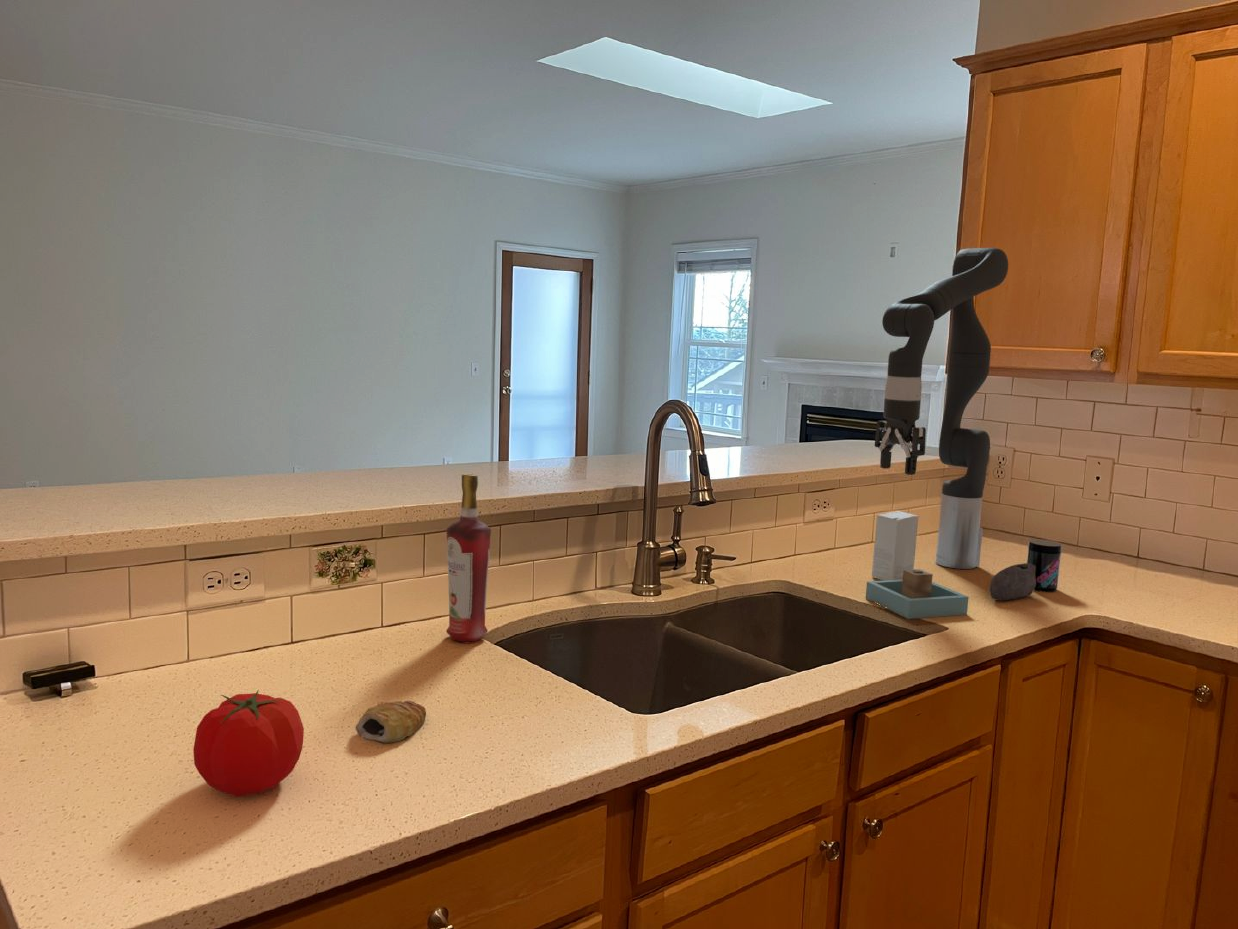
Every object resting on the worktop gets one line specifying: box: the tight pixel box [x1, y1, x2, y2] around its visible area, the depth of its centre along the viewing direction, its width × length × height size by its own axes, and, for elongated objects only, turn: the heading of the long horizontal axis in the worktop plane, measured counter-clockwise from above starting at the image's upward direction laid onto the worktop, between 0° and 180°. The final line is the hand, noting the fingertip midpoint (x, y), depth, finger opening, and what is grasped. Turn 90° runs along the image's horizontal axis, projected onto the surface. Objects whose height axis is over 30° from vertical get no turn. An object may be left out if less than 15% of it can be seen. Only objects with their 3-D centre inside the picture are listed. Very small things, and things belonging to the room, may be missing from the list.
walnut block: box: [901, 568, 934, 599], centre depth 184 cm, size 4×4×7 cm
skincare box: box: [871, 510, 920, 581], centre depth 205 cm, size 8×6×15 cm
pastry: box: [355, 700, 427, 744], centre depth 118 cm, size 9×7×4 cm
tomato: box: [192, 689, 305, 798], centre depth 102 cm, size 12×12×10 cm
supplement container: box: [1026, 538, 1063, 593], centre depth 202 cm, size 7×7×10 cm
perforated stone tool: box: [988, 562, 1036, 601], centre depth 193 cm, size 15×5×7 cm, turn 124°
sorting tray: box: [865, 579, 969, 620], centre depth 184 cm, size 14×14×4 cm
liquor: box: [446, 473, 492, 643], centre depth 152 cm, size 7×7×28 cm
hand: (897, 471), depth 199 cm, fingers open, 8 cm apart
